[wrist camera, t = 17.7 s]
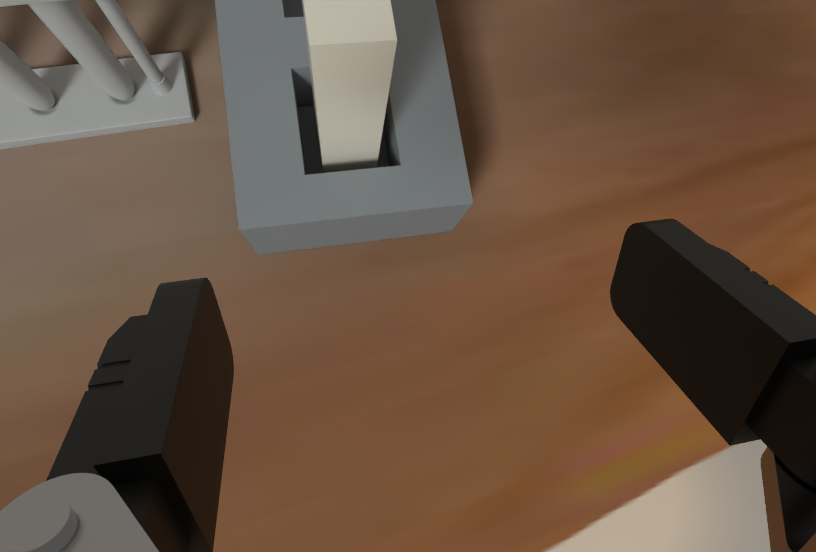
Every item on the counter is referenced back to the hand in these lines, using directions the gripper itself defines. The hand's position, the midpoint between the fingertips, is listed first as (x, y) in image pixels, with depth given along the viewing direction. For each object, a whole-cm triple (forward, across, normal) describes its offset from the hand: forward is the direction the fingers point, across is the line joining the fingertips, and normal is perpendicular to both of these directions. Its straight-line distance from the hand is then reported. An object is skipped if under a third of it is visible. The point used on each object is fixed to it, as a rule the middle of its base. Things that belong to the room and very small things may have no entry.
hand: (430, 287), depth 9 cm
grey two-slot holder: (+26, 0, +3) cm, 26 cm away
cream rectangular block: (+21, 0, +5) cm, 22 cm away
